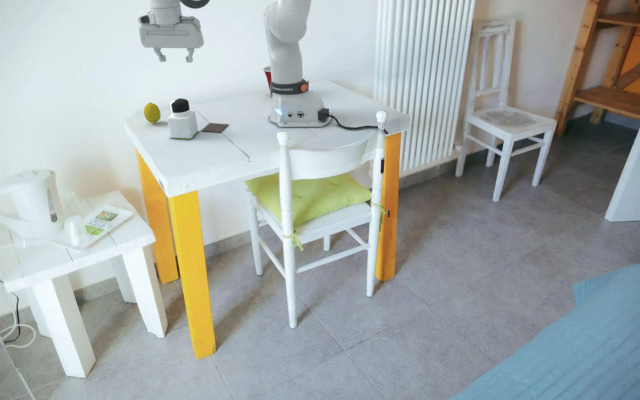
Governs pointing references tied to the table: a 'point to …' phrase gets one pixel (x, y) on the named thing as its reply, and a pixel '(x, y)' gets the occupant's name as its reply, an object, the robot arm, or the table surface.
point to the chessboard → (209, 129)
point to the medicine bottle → (181, 119)
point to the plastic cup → (268, 75)
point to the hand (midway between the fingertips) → (176, 61)
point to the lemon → (152, 113)
